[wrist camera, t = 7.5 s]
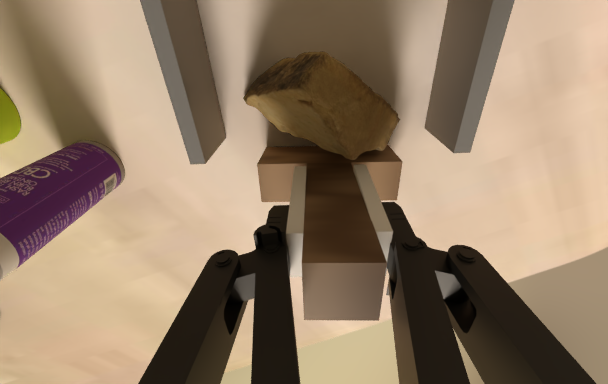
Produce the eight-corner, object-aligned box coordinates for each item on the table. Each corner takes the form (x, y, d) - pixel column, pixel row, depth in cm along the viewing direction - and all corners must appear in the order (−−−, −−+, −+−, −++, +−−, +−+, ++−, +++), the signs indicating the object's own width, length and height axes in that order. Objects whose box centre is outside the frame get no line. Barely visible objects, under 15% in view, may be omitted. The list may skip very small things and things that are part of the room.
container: (102, 133, 22) (-196, 280, 9) (135, 181, 24) (-62, 352, 11) (56, 148, 23) (-278, 302, 10) (93, 193, 25) (-137, 365, 12)
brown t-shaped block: (269, 180, 23) (219, 319, 11) (266, 147, 22) (204, 263, 10) (383, 178, 23) (468, 320, 10) (387, 144, 22) (489, 262, 9)
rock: (447, 117, 18) (378, -31, 13) (418, 223, 15) (306, 75, 9) (331, 145, 26) (260, 61, 21) (293, 218, 23) (197, 137, 18)
